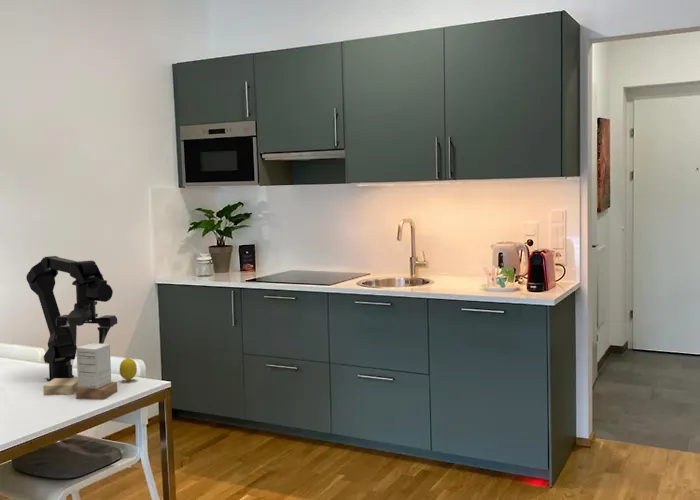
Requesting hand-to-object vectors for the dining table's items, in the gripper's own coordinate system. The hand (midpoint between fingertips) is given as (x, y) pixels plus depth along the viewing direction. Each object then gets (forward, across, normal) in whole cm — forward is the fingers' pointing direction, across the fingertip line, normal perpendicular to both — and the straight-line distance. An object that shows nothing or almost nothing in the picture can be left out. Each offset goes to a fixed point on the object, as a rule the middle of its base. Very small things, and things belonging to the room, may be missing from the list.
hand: (87, 346), depth 234 cm
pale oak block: (+13, -5, -7) cm, 16 cm away
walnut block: (+13, +8, -10) cm, 18 cm away
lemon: (+13, +10, +7) cm, 18 cm away
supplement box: (+10, +7, -10) cm, 16 cm away
